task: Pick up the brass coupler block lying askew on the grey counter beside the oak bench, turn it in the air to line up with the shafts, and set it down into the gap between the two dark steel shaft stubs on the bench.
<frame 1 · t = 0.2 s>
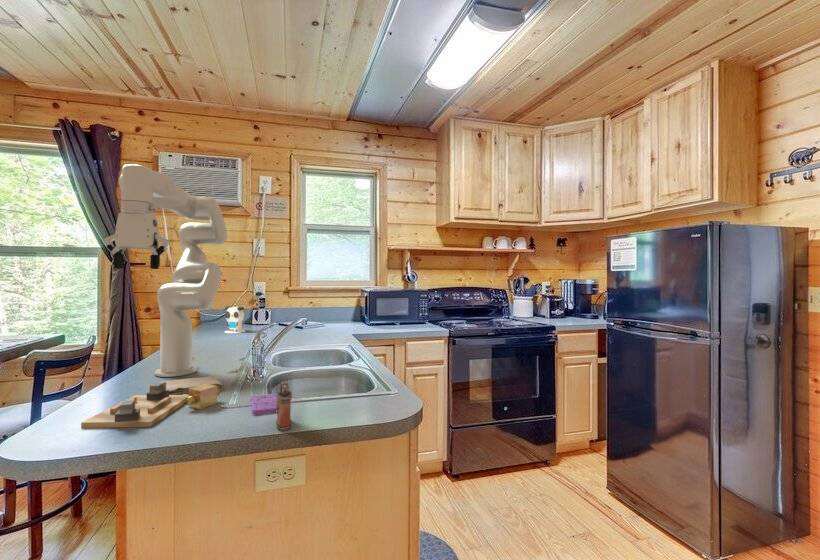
hand: (136, 268, 114), 36 cm above the counter, tool pointing down, fingers open, 9 cm apart
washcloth: (188, 391, 120), on the counter
amber flat bottle: (283, 426, 93), on the counter
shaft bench: (141, 411, 100), on the counter
sponges: (265, 408, 106), on the counter
panda figurine: (234, 332, 234), on the counter
coupler: (202, 405, 106), on the counter
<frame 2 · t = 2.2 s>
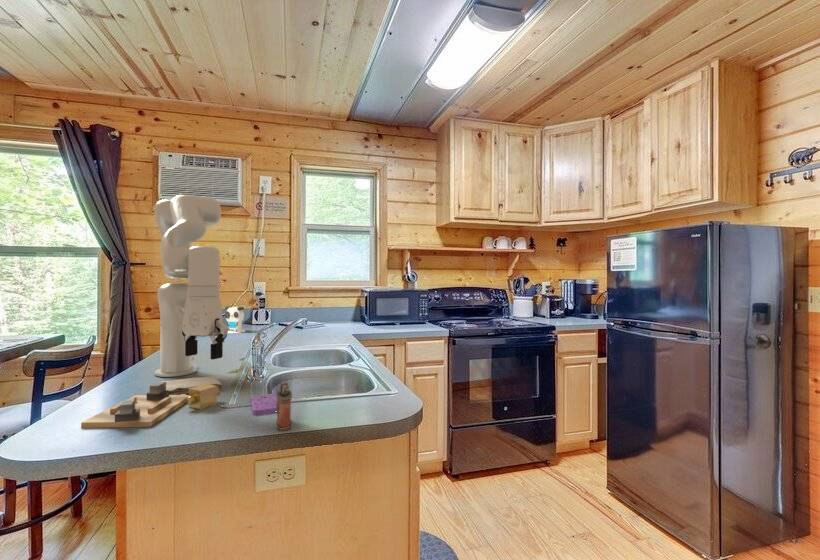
hand: (203, 356, 105), 13 cm above the counter, tool pointing down, fingers open, 9 cm apart
nothing on the counter moved.
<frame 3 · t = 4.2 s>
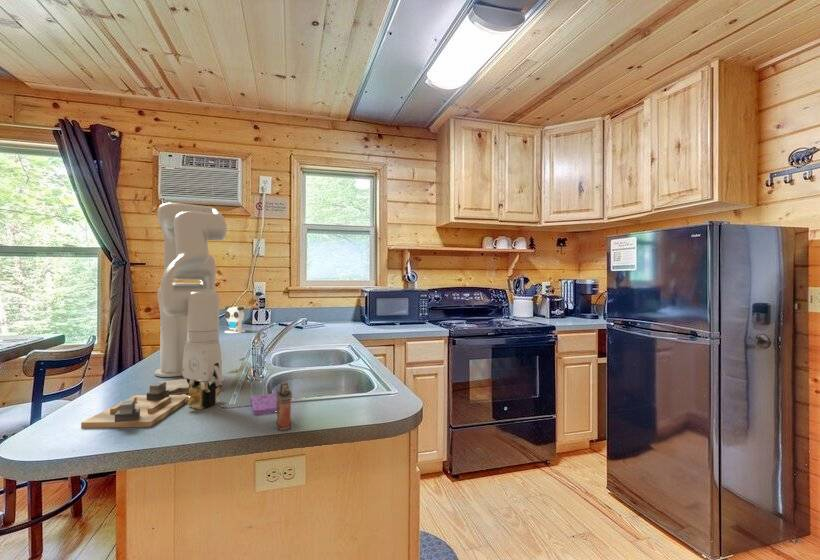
hand: (202, 403, 106), 0 cm above the counter, tool pointing down, fingers closed on coupler, 4 cm apart
coupler: (202, 405, 106), on the counter, touching gripper
everything else where it was.
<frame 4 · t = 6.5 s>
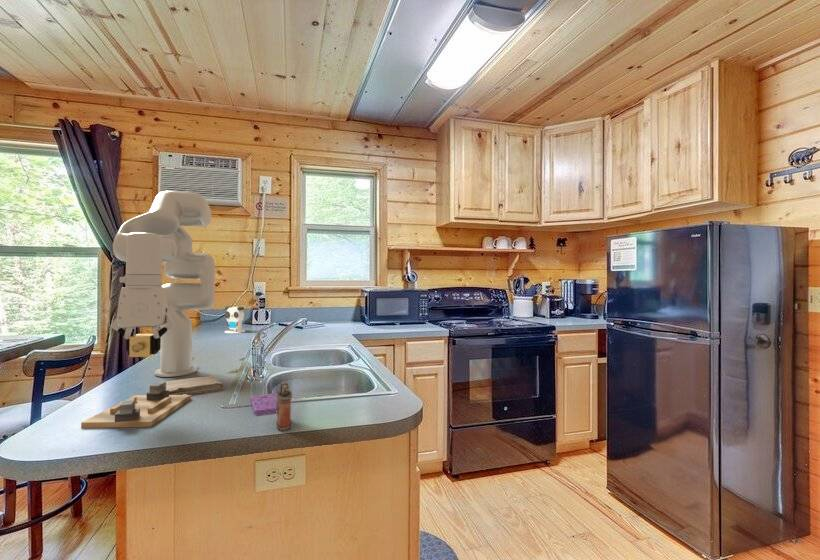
hand: (143, 352, 100), 15 cm above the counter, tool pointing down, fingers closed on coupler, 4 cm apart
coupler: (143, 354, 100), point 15 cm above the counter, touching gripper
everything else where it was.
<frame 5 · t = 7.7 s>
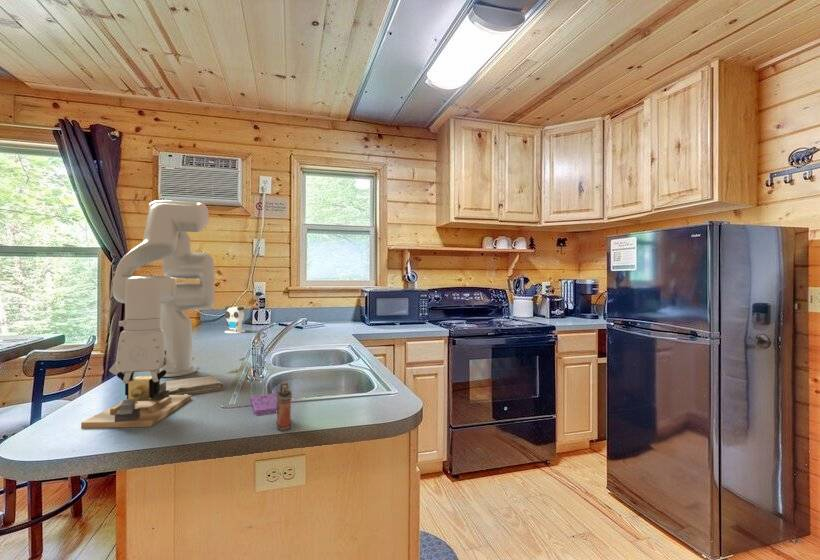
hand: (142, 396, 100), 4 cm above the counter, tool pointing down, fingers closed on coupler, 4 cm apart
coupler: (142, 398, 100), point 4 cm above the counter, touching gripper
everything else where it was.
when the fingers open (3 cm above the counter, at t = 8.6 s): coupler drops 1 cm, resting on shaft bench.
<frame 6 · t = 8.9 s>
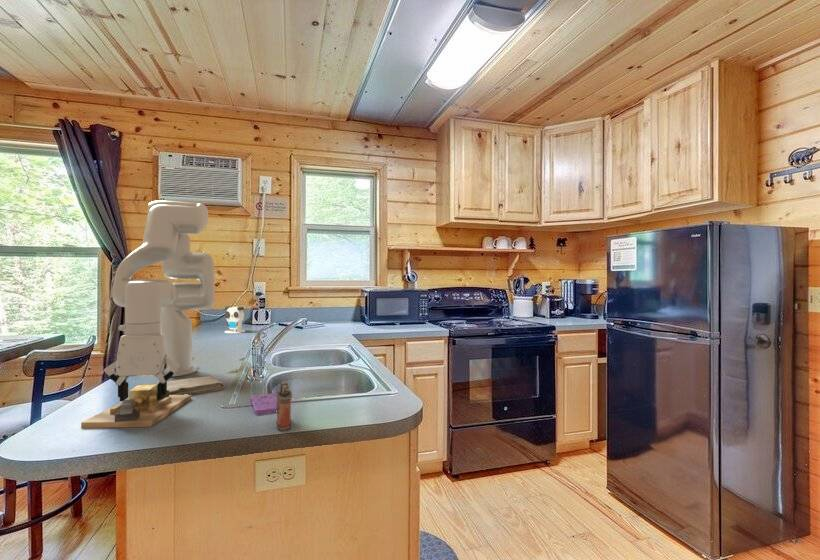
hand: (142, 398, 100), 4 cm above the counter, tool pointing down, fingers open, 7 cm apart
coupler: (143, 407, 100), point 1 cm above the counter, touching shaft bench
everything else where it was.
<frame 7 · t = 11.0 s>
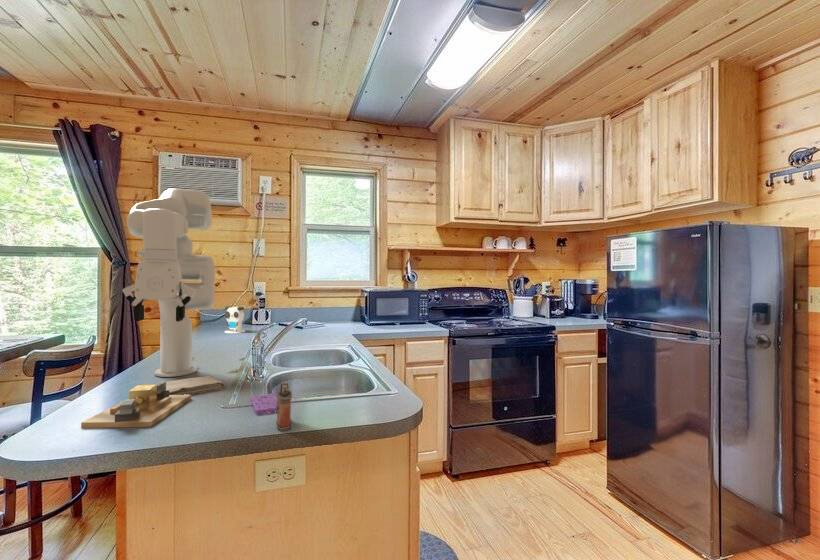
hand: (159, 320, 105), 23 cm above the counter, tool pointing down, fingers open, 9 cm apart
nothing on the counter moved.
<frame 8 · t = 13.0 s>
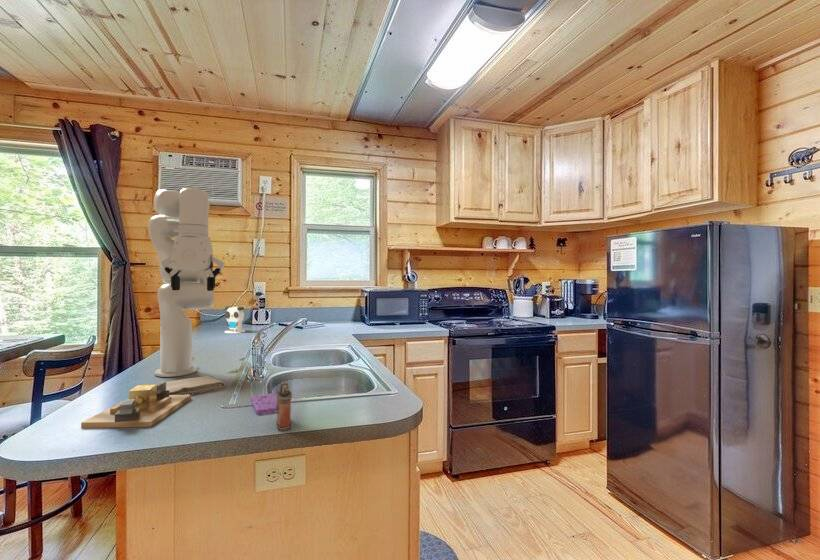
hand: (193, 290, 116), 30 cm above the counter, tool pointing down, fingers open, 9 cm apart
nothing on the counter moved.
at the end: coupler 0.1 cm off-centre on the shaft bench, point 1.2 cm above the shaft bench's base; coupler tilted 0°; the gripper is holding nothing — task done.
